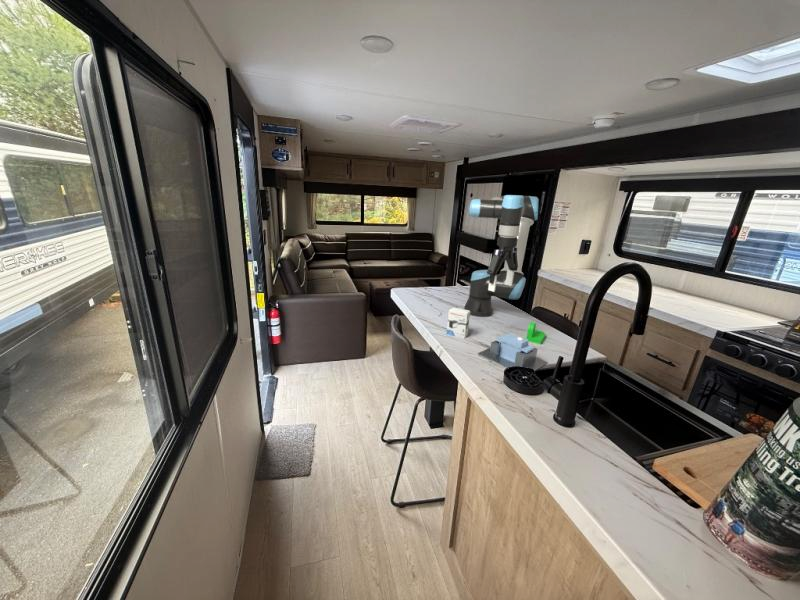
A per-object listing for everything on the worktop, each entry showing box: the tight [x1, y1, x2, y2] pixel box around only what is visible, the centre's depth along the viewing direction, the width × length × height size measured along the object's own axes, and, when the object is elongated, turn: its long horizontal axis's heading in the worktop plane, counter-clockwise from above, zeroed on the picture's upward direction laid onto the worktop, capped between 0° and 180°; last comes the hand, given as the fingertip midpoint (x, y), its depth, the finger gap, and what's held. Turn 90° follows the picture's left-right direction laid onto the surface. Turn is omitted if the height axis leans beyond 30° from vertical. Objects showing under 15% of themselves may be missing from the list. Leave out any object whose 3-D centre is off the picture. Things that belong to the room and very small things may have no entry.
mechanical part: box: [525, 321, 546, 345], centre depth 137 cm, size 12×6×8 cm, turn 145°
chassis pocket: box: [477, 340, 548, 372], centre depth 117 cm, size 16×20×6 cm
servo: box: [495, 332, 535, 362], centre depth 116 cm, size 5×13×9 cm, turn 41°
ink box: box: [445, 306, 471, 340], centre depth 135 cm, size 8×5×12 cm, turn 62°
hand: (500, 288), depth 128 cm, fingers open, 13 cm apart
